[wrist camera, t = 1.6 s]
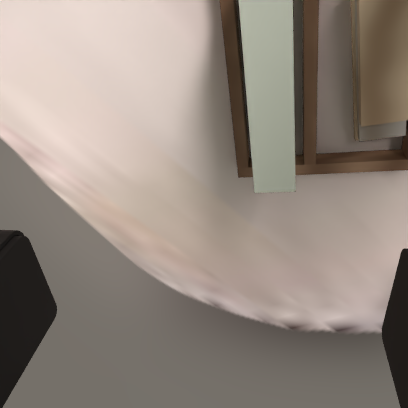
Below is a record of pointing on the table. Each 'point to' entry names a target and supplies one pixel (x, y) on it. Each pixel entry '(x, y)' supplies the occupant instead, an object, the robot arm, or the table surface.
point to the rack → (309, 160)
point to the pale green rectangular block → (270, 91)
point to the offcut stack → (379, 68)
